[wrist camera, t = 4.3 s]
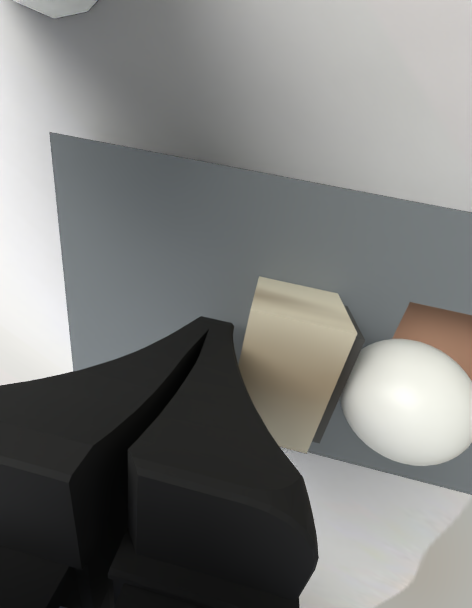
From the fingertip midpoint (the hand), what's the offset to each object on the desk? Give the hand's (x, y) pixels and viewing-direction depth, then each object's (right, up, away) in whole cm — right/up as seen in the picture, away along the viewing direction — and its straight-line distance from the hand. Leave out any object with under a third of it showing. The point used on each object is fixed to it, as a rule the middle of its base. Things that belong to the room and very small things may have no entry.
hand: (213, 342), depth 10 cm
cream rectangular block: (+3, 0, +1) cm, 3 cm away
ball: (+7, -2, -1) cm, 7 cm away
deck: (+4, +1, +3) cm, 5 cm away
